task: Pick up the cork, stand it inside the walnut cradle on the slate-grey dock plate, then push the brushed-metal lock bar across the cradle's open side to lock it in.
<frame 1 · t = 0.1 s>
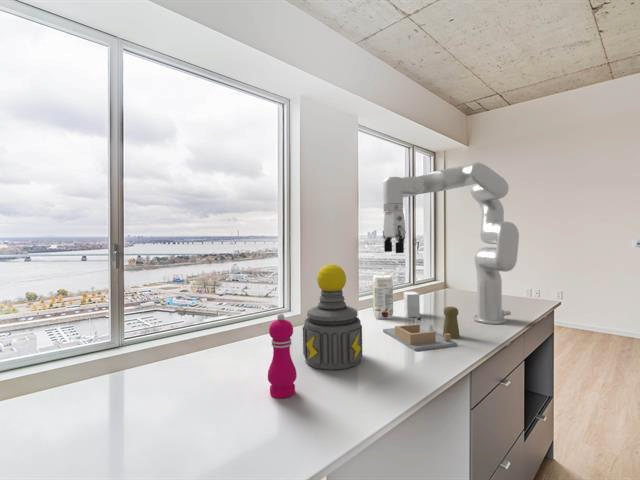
hand: (393, 252, 144), 31 cm above the counter, tool pointing down, fingers open, 9 cm apart
dock: (417, 338, 134), on the counter
pepper mill: (282, 393, 91), on the counter
lock bar: (423, 324, 142), point 3 cm above the counter, slide at 0.0 cm
decorative lamp: (333, 360, 114), on the counter
cork: (451, 336, 136), on the counter
small box: (411, 315, 169), on the counter
juice carton: (383, 317, 166), on the counter
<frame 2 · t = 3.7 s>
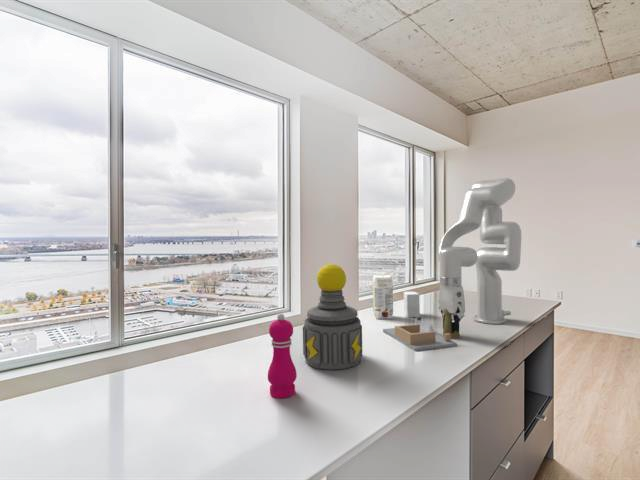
hand: (451, 330, 136), 2 cm above the counter, tool pointing down, fingers closed on cork, 4 cm apart
cork: (451, 336, 136), on the counter, touching gripper
everything else where it was.
when the fingers open (5 cm above the counter, at t = 9.3 s): cork drops 2 cm, resting on dock.
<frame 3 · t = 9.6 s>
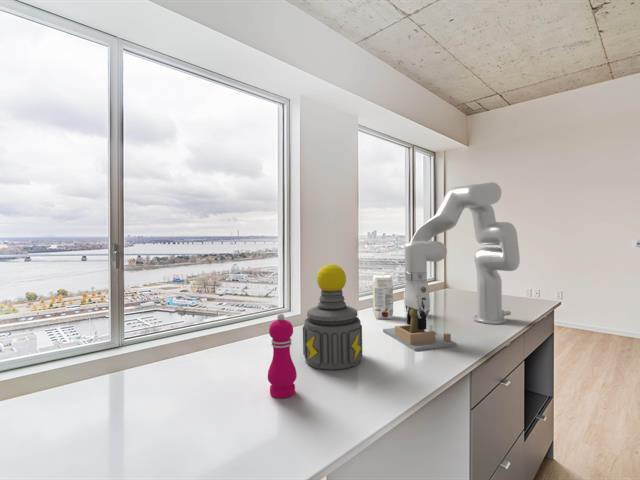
hand: (416, 326, 131), 5 cm above the counter, tool pointing down, fingers open, 6 cm apart
cork: (417, 338, 131), point 1 cm above the counter, touching dock
everything else where it was.
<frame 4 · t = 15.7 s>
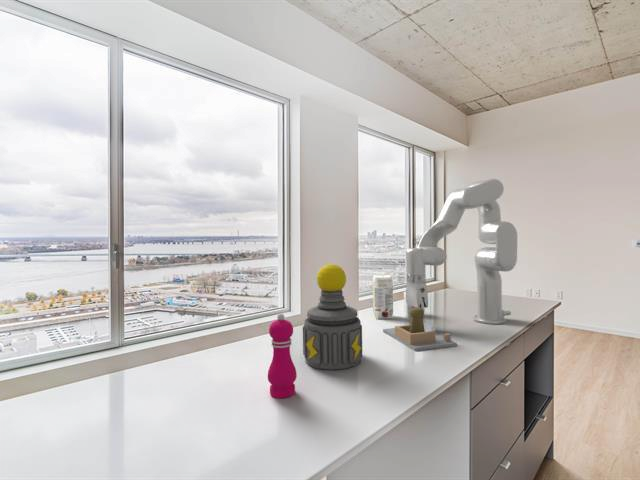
hand: (416, 323, 147), 2 cm above the counter, tool pointing down, fingers closed
lock bar: (425, 325, 140), point 3 cm above the counter, slide at 1.4 cm, touching gripper
everything else where it was.
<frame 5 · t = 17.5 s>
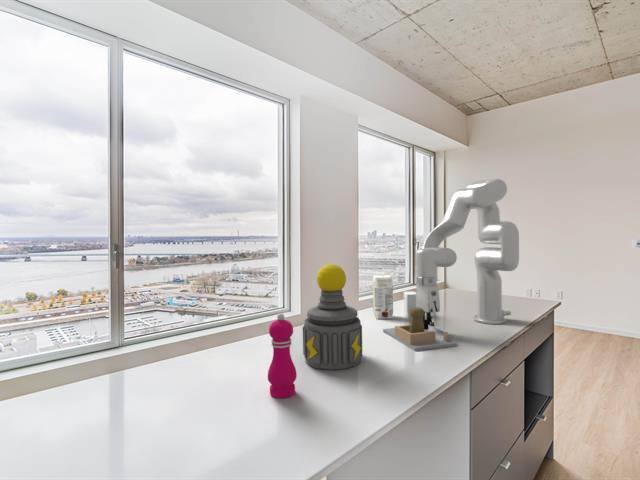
hand: (427, 328, 139), 2 cm above the counter, tool pointing down, fingers closed
lock bar: (437, 330, 133), point 3 cm above the counter, slide at 9.1 cm, touching gripper
everything else where it was.
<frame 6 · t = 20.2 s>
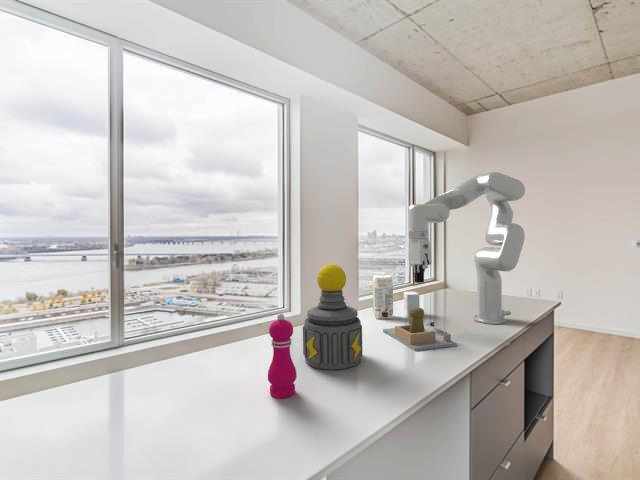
hand: (419, 282, 144), 19 cm above the counter, tool pointing down, fingers closed
lock bar: (437, 330, 133), point 3 cm above the counter, slide at 9.0 cm
everything else where it was.
at the end: cork 0.2 cm from the target spot, point 0.8 cm above the counter; cork tilted 0°; lock bar slide at 9.0 cm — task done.
